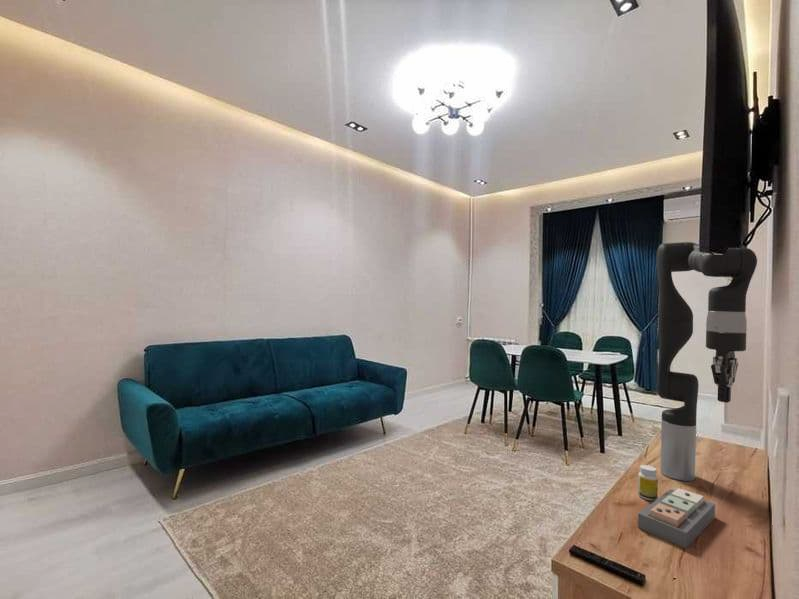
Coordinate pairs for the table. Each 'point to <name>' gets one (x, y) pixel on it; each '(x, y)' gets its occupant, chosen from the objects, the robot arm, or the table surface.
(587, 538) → the table surface
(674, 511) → the tile three
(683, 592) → the table surface
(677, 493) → the tile one
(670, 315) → the robot arm
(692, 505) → the tile two
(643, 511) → the well board
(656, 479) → the supplement bottle
